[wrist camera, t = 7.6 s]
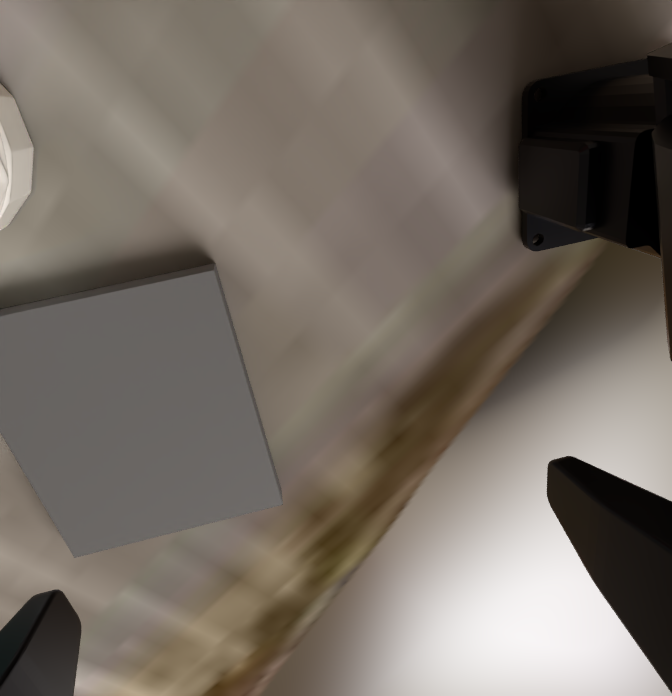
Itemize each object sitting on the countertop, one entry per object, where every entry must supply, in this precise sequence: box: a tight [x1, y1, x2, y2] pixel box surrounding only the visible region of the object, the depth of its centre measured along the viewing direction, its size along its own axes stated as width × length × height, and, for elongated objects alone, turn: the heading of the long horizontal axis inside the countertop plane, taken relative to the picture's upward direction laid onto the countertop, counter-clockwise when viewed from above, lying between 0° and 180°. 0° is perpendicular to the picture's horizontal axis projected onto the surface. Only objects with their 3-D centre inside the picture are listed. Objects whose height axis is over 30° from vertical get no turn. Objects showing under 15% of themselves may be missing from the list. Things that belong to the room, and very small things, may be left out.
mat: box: [0, 263, 283, 558], centre depth 21 cm, size 10×12×1 cm
